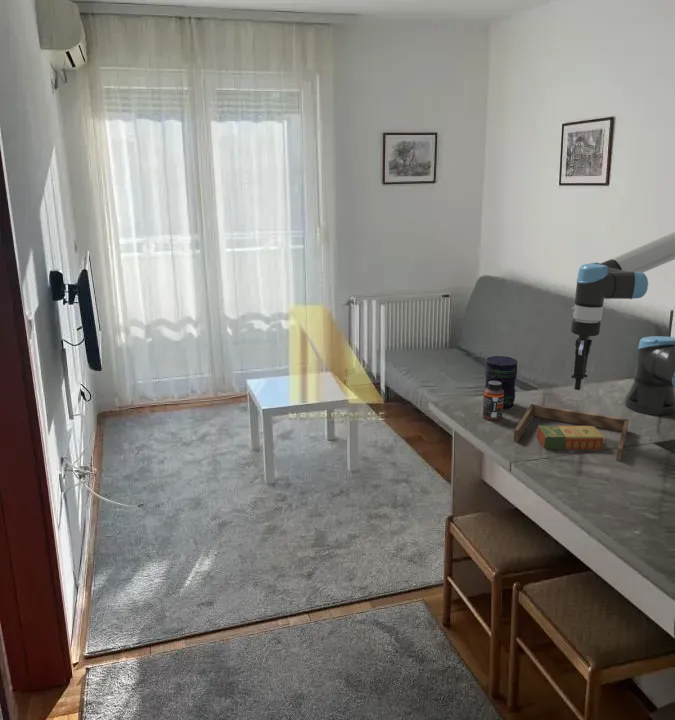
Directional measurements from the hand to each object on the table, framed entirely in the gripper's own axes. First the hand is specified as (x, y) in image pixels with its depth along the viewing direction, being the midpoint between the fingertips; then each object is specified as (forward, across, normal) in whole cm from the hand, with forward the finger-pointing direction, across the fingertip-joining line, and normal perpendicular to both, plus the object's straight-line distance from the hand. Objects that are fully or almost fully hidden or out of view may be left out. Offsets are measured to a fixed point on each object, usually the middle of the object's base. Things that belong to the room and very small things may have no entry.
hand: (576, 399), depth 196 cm
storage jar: (+10, -11, -24) cm, 29 cm away
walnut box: (+10, +5, 0) cm, 11 cm away
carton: (+10, +11, 0) cm, 15 cm away
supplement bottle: (+10, +1, -24) cm, 26 cm away
